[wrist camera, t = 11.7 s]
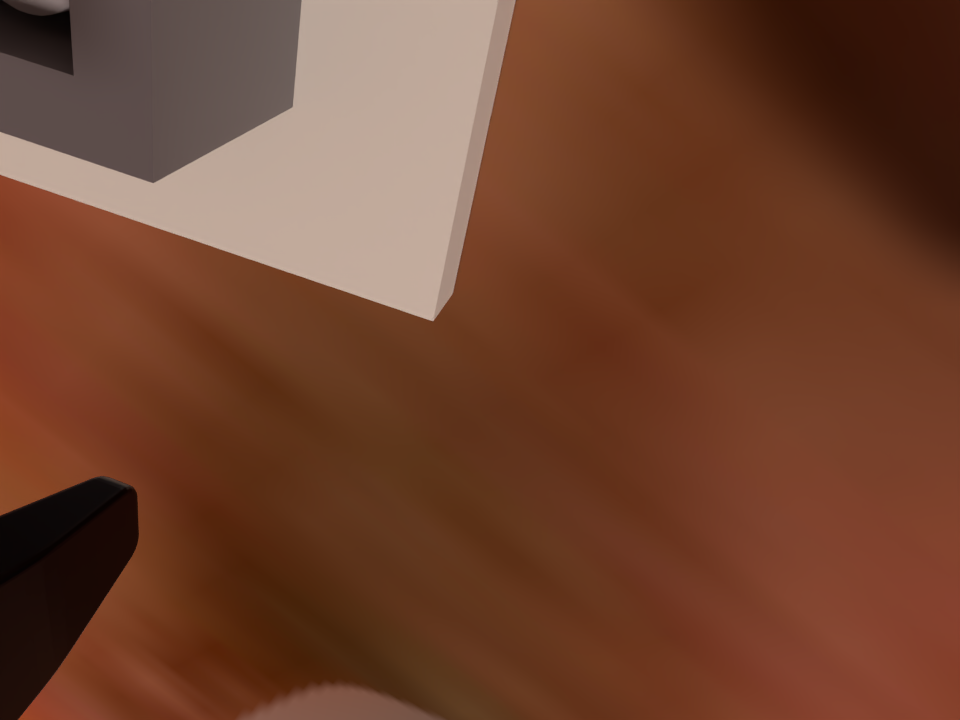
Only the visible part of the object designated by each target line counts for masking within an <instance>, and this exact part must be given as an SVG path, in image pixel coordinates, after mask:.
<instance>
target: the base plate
mask: <svg viewBox="0 0 960 720" xmlns="http://www.w3.org/2000/svg"><path fill="white" fill-rule="evenodd" d="M3 1H4V2H6V3H7V4H8V5H10V6H12V7H14V8H15V9H17V10H19V11H22V12H25V13H27V14H32V15H38V16H46V15H53V14H57V13H61V12H65V11H70V8H69V0H3ZM515 1H516V0H302V2H301V14H300V26H299V38H298V50H297V62H296V74H295V86H294V98H293V107H292V108H290V109H289V110H287V111H285V112H283V113H281V114H279V115H278V116H276V117H274V118H272V119H270V120H268V121H267V122H265V123H263V124H261V125H259V126H257V127H256V128H254V129H252V130H250V131H248V132H246V133H245V134H243V135H241V136H239V137H237V138H235V139H234V140H232V141H230V142H228V143H226V144H224V145H223V146H221V147H219V148H217V149H215V150H213V151H212V152H210V153H208V154H206V155H204V156H202V157H201V158H199V159H197V160H195V161H193V162H191V163H190V164H188V165H186V166H184V167H182V168H180V169H179V170H177V171H175V172H173V173H171V174H169V175H168V176H166V177H164V178H162V179H160V180H158V181H157V182H155V183H151V182H148V181H145V180H142V179H139V178H136V177H133V176H130V175H127V174H124V173H121V172H118V171H115V170H112V169H109V168H106V167H103V166H100V165H97V164H94V163H91V162H88V161H85V160H82V159H79V158H76V157H73V156H70V155H67V154H64V153H61V152H58V151H55V150H53V149H50V148H47V147H44V146H41V145H38V144H35V143H32V142H29V141H26V140H23V139H20V138H17V137H14V136H11V135H8V134H5V133H2V132H0V175H3V176H6V177H9V178H12V179H15V180H18V181H20V182H23V183H26V184H29V185H32V186H35V187H38V188H41V189H44V190H47V191H50V192H53V193H56V194H59V195H62V196H65V197H68V198H71V199H74V200H77V201H80V202H82V203H85V204H88V205H91V206H94V207H97V208H100V209H103V210H106V211H109V212H112V213H115V214H118V215H121V216H124V217H127V218H130V219H133V220H136V221H139V222H142V223H145V224H147V225H150V226H153V227H156V228H159V229H162V230H165V231H168V232H171V233H174V234H177V235H180V236H183V237H186V238H189V239H192V240H195V241H198V242H201V243H204V244H207V245H209V246H212V247H215V248H218V249H221V250H224V251H227V252H230V253H233V254H236V255H239V256H242V257H245V258H248V259H251V260H254V261H257V262H260V263H263V264H266V265H269V266H271V267H274V268H277V269H280V270H283V271H286V272H289V273H292V274H295V275H298V276H301V277H304V278H307V279H310V280H313V281H316V282H319V283H322V284H325V285H328V286H331V287H333V288H336V289H339V290H342V291H345V292H348V293H351V294H354V295H357V296H360V297H363V298H366V299H369V300H372V301H375V302H378V303H381V304H384V305H387V306H390V307H393V308H395V309H398V310H401V311H404V312H407V313H410V314H413V315H416V316H419V317H422V318H425V319H428V320H431V321H434V319H435V318H436V316H437V315H438V314H439V312H440V311H441V309H442V308H443V307H444V305H445V304H446V302H447V301H448V300H449V298H450V297H451V295H452V294H453V290H454V285H455V281H456V276H457V271H458V267H459V262H460V257H461V253H462V248H463V243H464V239H465V234H466V229H467V225H468V220H469V215H470V211H471V206H472V201H473V197H474V192H475V187H476V183H477V178H478V173H479V169H480V164H481V159H482V155H483V150H484V145H485V141H486V136H487V131H488V127H489V122H490V117H491V113H492V108H493V103H494V99H495V94H496V89H497V85H498V80H499V75H500V71H501V66H502V61H503V57H504V52H505V47H506V43H507V38H508V33H509V29H510V24H511V19H512V15H513V10H514V5H515Z"/></svg>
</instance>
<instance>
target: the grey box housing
mask: <svg viewBox="0 0 960 720" xmlns="http://www.w3.org/2000/svg"><path fill="white" fill-rule="evenodd" d="M301 2H302V0H69V8H70V11H65V12H61V13H57V14H53V15H46V16H38V15H32V14H27V13H25V12H22V11H19V10H17V9H15V8H14V7H12V6H10V5H8V4H7V3H6V2H4V1H3V0H0V132H2V133H5V134H8V135H11V136H14V137H17V138H20V139H23V140H26V141H29V142H32V143H35V144H38V145H41V146H44V147H47V148H50V149H53V150H55V151H58V152H61V153H64V154H67V155H70V156H73V157H76V158H79V159H82V160H85V161H88V162H91V163H94V164H97V165H100V166H103V167H106V168H109V169H112V170H115V171H118V172H121V173H124V174H127V175H130V176H133V177H136V178H139V179H142V180H145V181H148V182H151V183H155V182H157V181H158V180H160V179H162V178H164V177H166V176H168V175H169V174H171V173H173V172H175V171H177V170H179V169H180V168H182V167H184V166H186V165H188V164H190V163H191V162H193V161H195V160H197V159H199V158H201V157H202V156H204V155H206V154H208V153H210V152H212V151H213V150H215V149H217V148H219V147H221V146H223V145H224V144H226V143H228V142H230V141H232V140H234V139H235V138H237V137H239V136H241V135H243V134H245V133H246V132H248V131H250V130H252V129H254V128H256V127H257V126H259V125H261V124H263V123H265V122H267V121H268V120H270V119H272V118H274V117H276V116H278V115H279V114H281V113H283V112H285V111H287V110H289V109H290V108H292V107H293V98H294V86H295V74H296V62H297V50H298V38H299V26H300V14H301Z"/></svg>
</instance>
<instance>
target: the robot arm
mask: <svg viewBox="0 0 960 720" xmlns="http://www.w3.org/2000/svg"><path fill="white" fill-rule="evenodd" d="M138 536H139V530H138V502H137V493H136V491H135V489H134V488H133V487H132V486H130V485H128V484H125V483H123V482H120V481H117V480H115V479H112V478H110V477H105V476H100V477H95V478H92V479H89V480H87V481H85V482H82V483H80V484H77V485H75V486H72V487H70V488H67V489H65V490H62V491H60V492H58V493H55V494H53V495H50V496H48V497H45V498H43V499H40V500H38V501H35V502H33V503H30V504H28V505H26V506H23V507H21V508H18V509H16V510H13V511H11V512H8V513H6V514H3V515H1V516H0V720H18V719H19V718H20V716H21V715H22V714H23V713H24V711H25V710H26V709H27V708H28V706H29V705H30V704H31V703H32V702H33V700H34V699H35V698H36V697H37V695H38V694H39V693H40V692H41V690H42V689H43V688H44V687H45V685H46V684H47V683H48V681H49V680H50V679H51V677H52V676H53V675H54V674H55V672H56V671H57V670H58V668H59V667H60V665H61V664H62V662H63V661H64V659H65V658H66V656H67V655H68V654H69V652H70V651H71V649H72V647H73V646H74V644H75V643H76V641H77V640H78V638H79V637H80V635H81V634H82V632H83V631H84V629H85V628H86V626H87V624H88V623H89V621H90V620H91V618H92V617H93V615H94V614H95V612H96V611H97V609H98V608H99V606H100V604H101V603H102V601H103V600H104V598H105V597H106V595H107V594H108V592H109V591H110V589H111V588H112V586H113V585H114V583H115V581H116V580H117V578H118V577H119V575H120V574H121V572H122V571H123V569H124V568H125V566H126V565H127V563H128V561H129V560H130V558H131V557H132V555H133V553H134V551H135V549H136V546H137V542H138Z"/></svg>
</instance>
